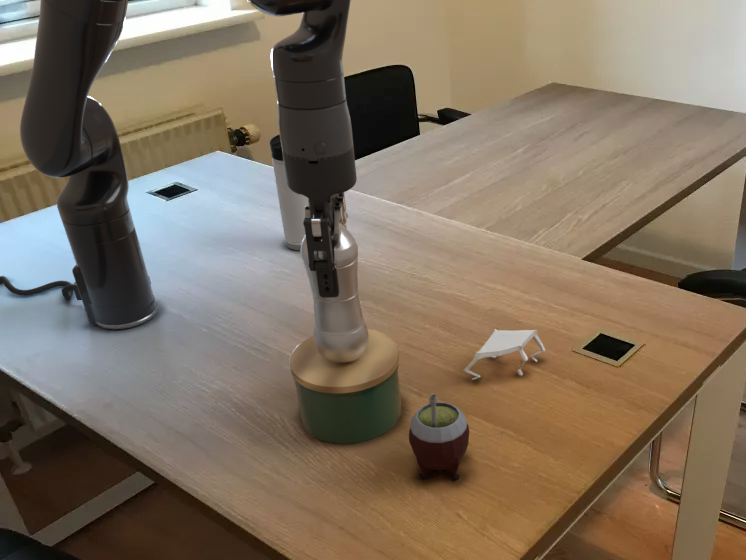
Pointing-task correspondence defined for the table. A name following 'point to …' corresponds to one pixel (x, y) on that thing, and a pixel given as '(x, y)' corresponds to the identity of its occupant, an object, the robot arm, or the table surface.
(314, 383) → the crock
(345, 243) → the silver metal bottle
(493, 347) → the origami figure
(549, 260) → the table surface
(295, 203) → the travel mug
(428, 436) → the mate gourd
